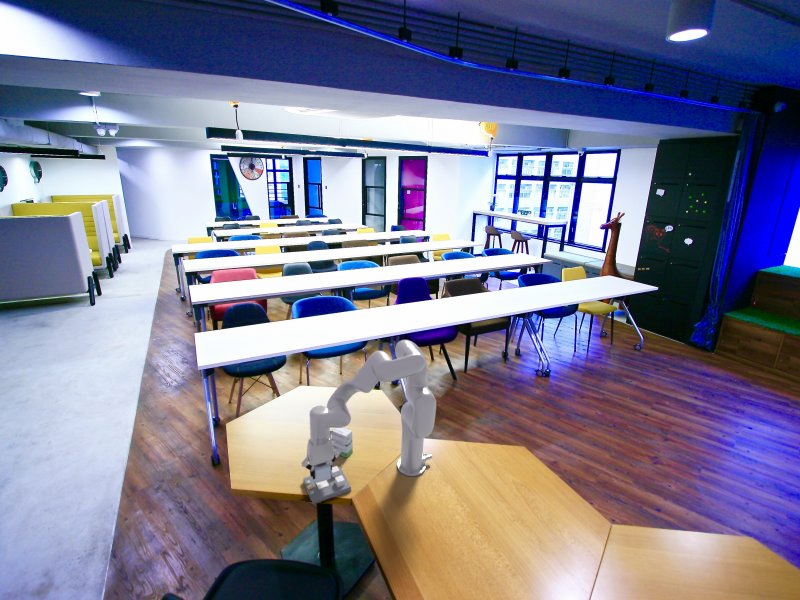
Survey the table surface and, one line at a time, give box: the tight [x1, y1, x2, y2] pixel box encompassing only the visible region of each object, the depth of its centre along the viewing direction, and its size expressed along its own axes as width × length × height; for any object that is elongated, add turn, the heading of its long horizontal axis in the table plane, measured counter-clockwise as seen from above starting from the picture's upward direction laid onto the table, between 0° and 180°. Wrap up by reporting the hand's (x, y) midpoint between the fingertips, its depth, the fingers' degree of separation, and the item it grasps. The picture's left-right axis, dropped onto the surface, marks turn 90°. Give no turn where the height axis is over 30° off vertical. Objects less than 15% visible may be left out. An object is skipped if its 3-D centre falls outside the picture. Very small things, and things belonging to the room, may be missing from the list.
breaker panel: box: [302, 465, 352, 505], centre depth 168 cm, size 16×13×5 cm
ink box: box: [331, 427, 354, 459], centre depth 187 cm, size 9×5×12 cm, turn 62°
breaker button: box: [315, 480, 329, 490], centre depth 168 cm, size 4×4×2 cm
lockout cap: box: [314, 461, 331, 483], centre depth 165 cm, size 6×6×6 cm
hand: (321, 473), depth 166 cm, fingers closed on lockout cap, 5 cm apart
